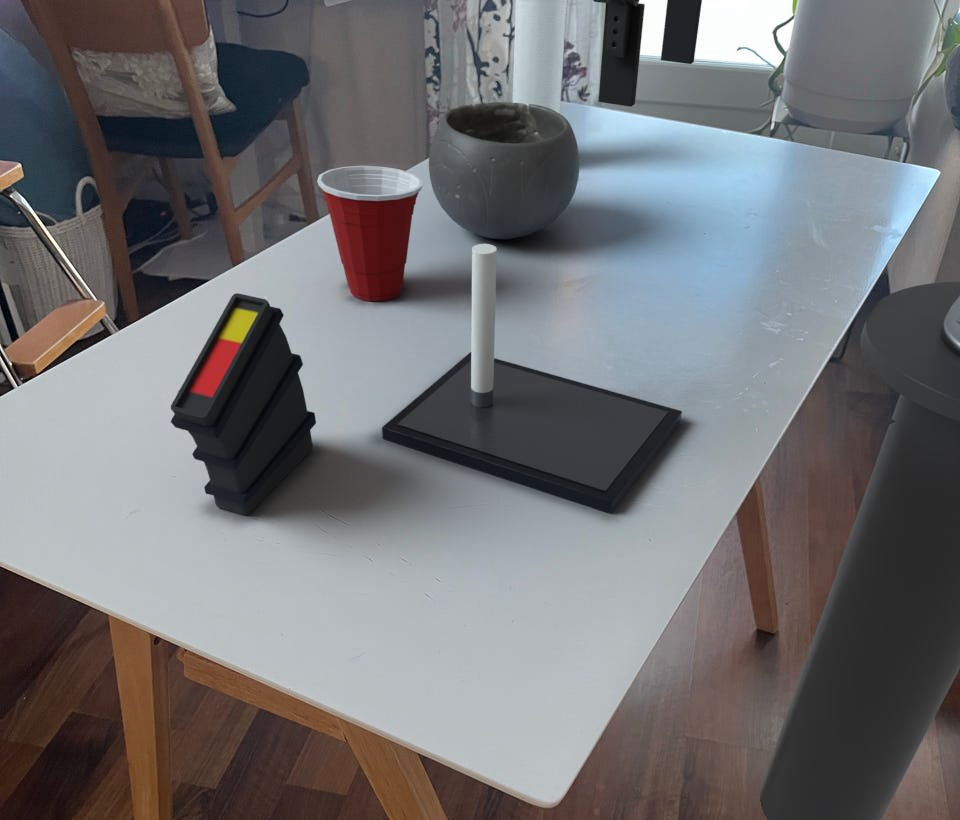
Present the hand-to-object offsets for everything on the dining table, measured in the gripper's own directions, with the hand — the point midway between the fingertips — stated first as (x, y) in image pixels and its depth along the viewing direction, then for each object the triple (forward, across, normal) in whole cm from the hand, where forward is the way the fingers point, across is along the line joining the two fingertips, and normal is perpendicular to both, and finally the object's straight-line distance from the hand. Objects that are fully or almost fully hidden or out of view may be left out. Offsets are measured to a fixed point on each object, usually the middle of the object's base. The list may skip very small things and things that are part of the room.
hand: (648, 81), depth 78 cm
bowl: (+25, -24, -25) cm, 43 cm away
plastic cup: (+25, -2, -30) cm, 39 cm away
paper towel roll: (+25, -48, -33) cm, 64 cm away
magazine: (+25, +34, -18) cm, 46 cm away
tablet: (+25, +15, -2) cm, 29 cm away
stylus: (+24, +15, -7) cm, 29 cm away
